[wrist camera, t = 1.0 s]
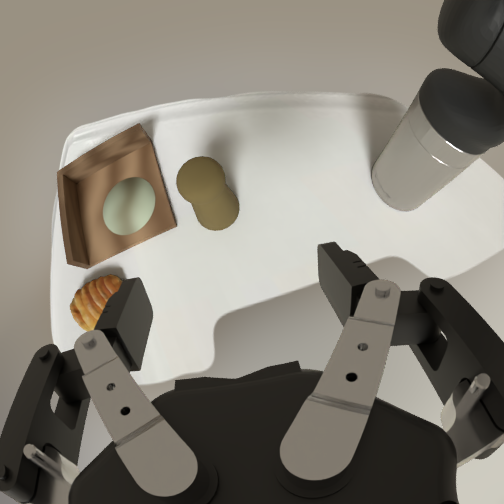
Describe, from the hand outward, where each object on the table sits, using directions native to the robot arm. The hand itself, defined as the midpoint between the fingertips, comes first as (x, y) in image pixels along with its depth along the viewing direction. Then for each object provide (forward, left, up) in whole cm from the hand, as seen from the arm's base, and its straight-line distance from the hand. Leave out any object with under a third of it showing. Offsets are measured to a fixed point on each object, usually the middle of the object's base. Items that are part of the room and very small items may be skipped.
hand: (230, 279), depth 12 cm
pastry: (+22, -7, -24) cm, 33 cm away
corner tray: (+15, -21, -24) cm, 35 cm away
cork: (+1, -13, -24) cm, 27 cm away
